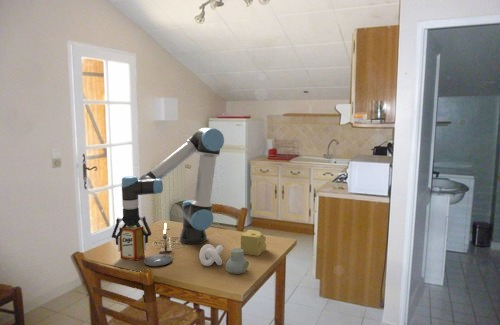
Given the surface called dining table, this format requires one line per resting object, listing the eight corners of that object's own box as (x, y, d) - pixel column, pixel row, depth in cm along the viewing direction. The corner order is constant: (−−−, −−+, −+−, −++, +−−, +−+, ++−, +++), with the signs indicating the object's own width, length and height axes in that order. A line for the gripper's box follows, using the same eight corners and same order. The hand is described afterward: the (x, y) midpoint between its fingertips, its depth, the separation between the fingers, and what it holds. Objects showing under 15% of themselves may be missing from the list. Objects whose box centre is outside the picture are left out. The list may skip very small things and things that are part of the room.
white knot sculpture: (230, 266, 173) (229, 247, 172) (206, 271, 167) (206, 252, 166) (219, 258, 183) (219, 240, 182) (197, 262, 177) (196, 245, 176)
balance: (171, 246, 199) (171, 221, 198) (171, 255, 186) (170, 229, 184) (160, 247, 198) (159, 222, 197) (159, 256, 185) (158, 230, 183)
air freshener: (240, 277, 160) (240, 255, 159) (223, 274, 164) (223, 253, 162) (250, 268, 170) (250, 247, 169) (234, 265, 174) (234, 245, 172)
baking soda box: (144, 256, 185) (143, 225, 183) (136, 260, 179) (134, 229, 177) (129, 253, 189) (128, 223, 187) (120, 258, 183) (119, 226, 181)
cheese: (266, 249, 194) (266, 231, 193) (258, 256, 185) (258, 237, 183) (248, 247, 199) (248, 229, 197) (239, 253, 189) (239, 234, 188)
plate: (172, 256, 185) (172, 253, 185) (171, 266, 173) (171, 263, 172) (145, 258, 183) (145, 255, 183) (143, 268, 170) (143, 265, 170)
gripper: (156, 204, 187) (157, 245, 190) (106, 206, 182) (108, 248, 185) (155, 208, 180) (156, 251, 182) (103, 210, 175) (105, 254, 178)
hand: (132, 250), depth 184 cm, fingers closed on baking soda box, 11 cm apart
